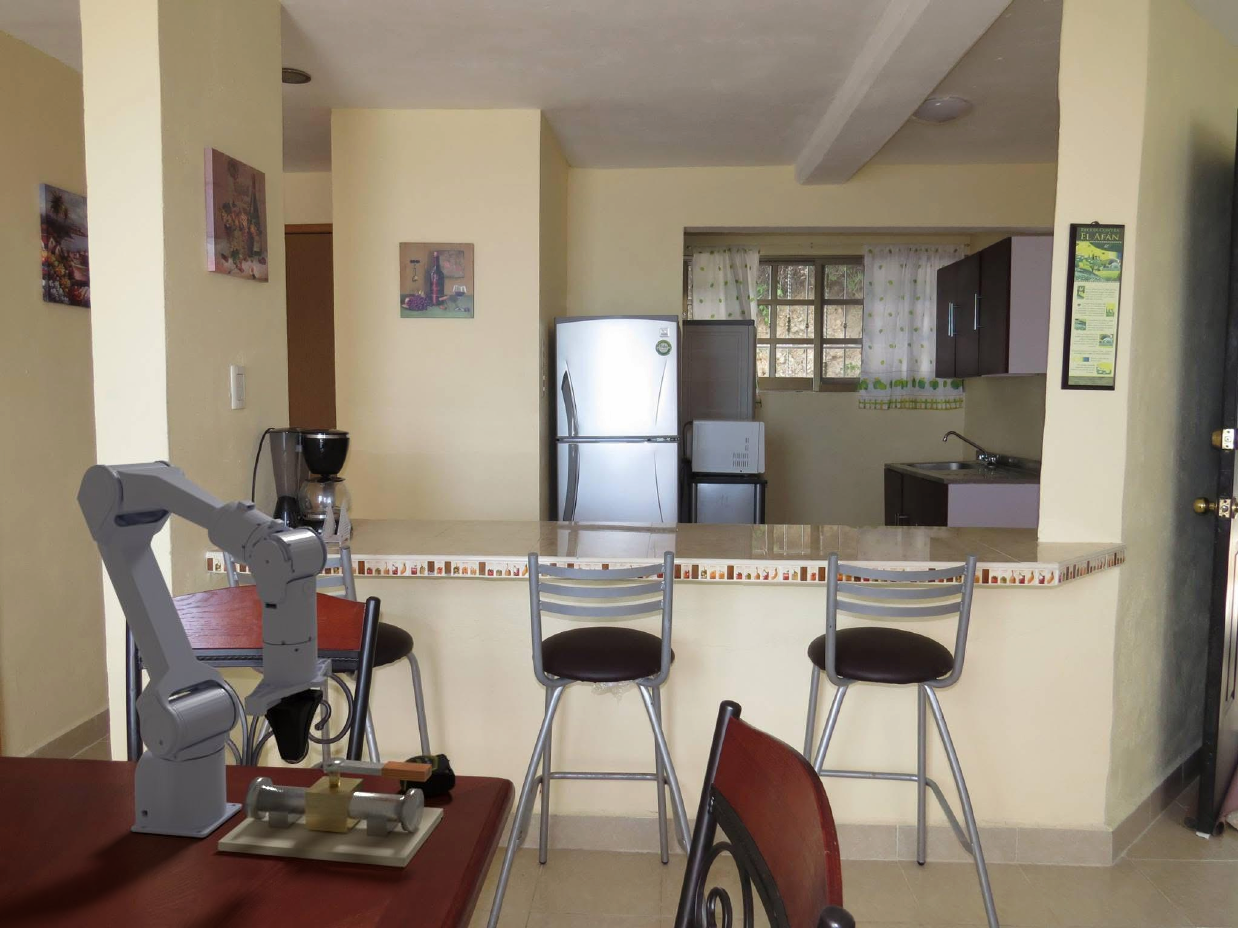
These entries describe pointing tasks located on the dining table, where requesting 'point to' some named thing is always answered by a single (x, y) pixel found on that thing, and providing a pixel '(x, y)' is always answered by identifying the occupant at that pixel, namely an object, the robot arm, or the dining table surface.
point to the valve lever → (379, 769)
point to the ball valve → (334, 806)
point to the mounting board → (331, 841)
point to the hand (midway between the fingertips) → (292, 757)
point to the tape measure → (438, 780)
